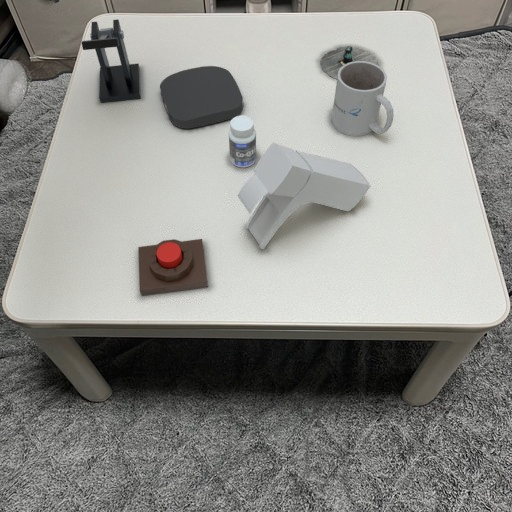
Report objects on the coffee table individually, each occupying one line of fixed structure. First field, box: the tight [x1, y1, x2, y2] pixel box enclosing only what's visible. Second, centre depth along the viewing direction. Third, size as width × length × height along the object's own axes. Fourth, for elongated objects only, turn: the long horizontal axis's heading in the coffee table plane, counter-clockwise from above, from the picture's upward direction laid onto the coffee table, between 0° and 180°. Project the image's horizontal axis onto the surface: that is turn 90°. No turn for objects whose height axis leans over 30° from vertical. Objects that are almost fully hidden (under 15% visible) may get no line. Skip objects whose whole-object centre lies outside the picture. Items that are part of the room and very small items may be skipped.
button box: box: [138, 238, 209, 297], centre depth 79 cm, size 10×8×4 cm
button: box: [157, 242, 182, 268], centre depth 77 cm, size 4×4×2 cm
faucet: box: [236, 141, 371, 250], centre depth 81 cm, size 6×16×20 cm
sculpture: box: [319, 45, 381, 80], centre depth 109 cm, size 12×9×8 cm
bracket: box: [89, 18, 142, 104], centre depth 101 cm, size 10×8×13 cm
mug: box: [331, 61, 394, 137], centre depth 94 cm, size 12×9×10 cm
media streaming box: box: [159, 65, 244, 129], centre depth 101 cm, size 15×15×3 cm
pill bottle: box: [228, 115, 257, 168], centre depth 90 cm, size 5×5×8 cm
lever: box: [81, 27, 119, 51], centre depth 93 cm, size 12×6×2 cm, turn 9°
